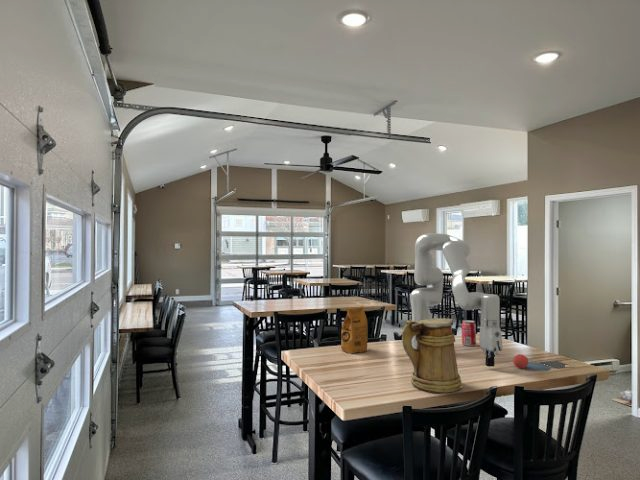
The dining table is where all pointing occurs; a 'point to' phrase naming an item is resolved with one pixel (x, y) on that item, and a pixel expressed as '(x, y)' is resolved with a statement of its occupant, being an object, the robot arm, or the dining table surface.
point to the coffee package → (354, 331)
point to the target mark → (537, 366)
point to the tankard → (432, 355)
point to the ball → (520, 361)
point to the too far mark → (554, 364)
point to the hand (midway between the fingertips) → (489, 365)
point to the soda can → (468, 333)
